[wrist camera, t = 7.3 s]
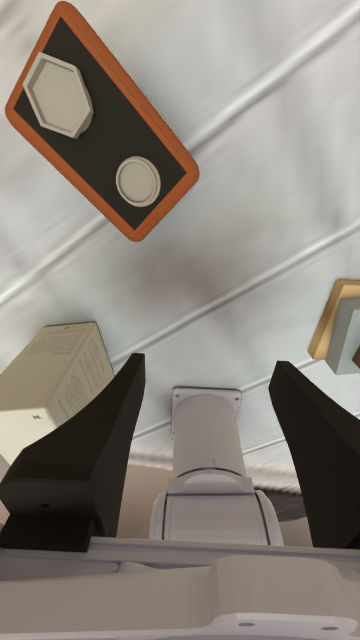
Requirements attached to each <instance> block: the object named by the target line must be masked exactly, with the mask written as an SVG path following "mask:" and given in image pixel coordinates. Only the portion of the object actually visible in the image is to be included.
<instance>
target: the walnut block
mask: <svg viewBox="0 0 360 640" xmlns="http://www.w3.org/2000/svg"><path fill="white" fill-rule="evenodd" d="M352 361H353V362H354V363H355V364H356V365H357V367H358V368H359V369H360V346H359V348H358V350H357V352H356V353H355V355H354V357H353V359H352Z"/></svg>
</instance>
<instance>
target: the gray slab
mask: <svg viewBox="0 0 360 640" xmlns="http://www.w3.org/2000/svg"><path fill="white" fill-rule="evenodd" d="M359 346H360V297H353V298H342V299H340V301H339V305H338V309H337V313H336V318H335V322H334V326H333V330H332V335H331V339H330V343H329V347H328V352H327V356H326V360H325V361H326V363H327V364H328V365H329V367H330V368H331V369H332V371H333V372H334V373H335V375H341V374H355V373H360V369H359V368H358V367H357V365H356V364H355V363H354V362H353V361H352V359H353V357H354V355H355V353H356V352H357V350H358V348H359Z"/></svg>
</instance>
